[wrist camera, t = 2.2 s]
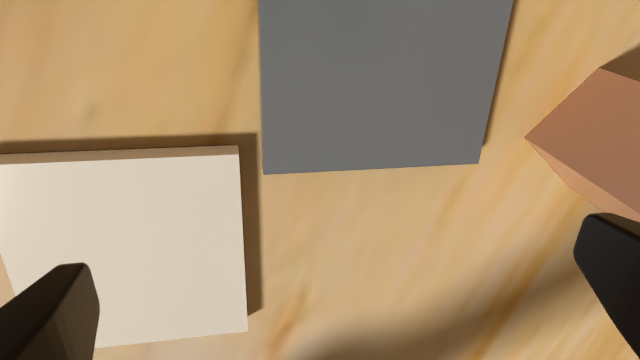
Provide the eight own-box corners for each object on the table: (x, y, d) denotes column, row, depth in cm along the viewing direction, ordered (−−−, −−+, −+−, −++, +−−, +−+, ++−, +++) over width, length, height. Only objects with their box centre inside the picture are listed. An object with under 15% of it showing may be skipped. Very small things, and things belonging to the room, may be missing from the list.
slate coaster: (468, 154, 22) (478, 163, 21) (262, 164, 20) (263, 174, 20) (516, -82, 18) (531, -83, 17) (255, -96, 16) (256, -98, 15)
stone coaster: (247, 317, 24) (248, 331, 24) (43, 338, 23) (36, 354, 22) (238, 145, 20) (238, 154, 19) (-19, 155, 18) (-31, 165, 17)
